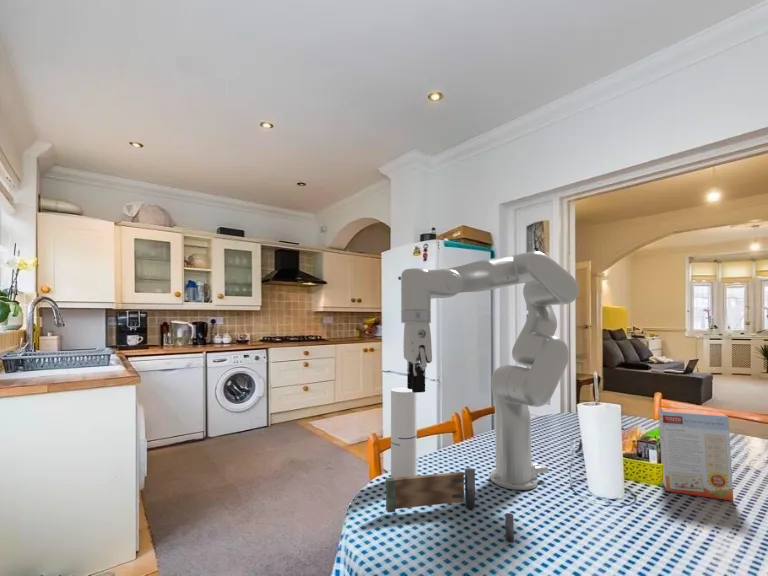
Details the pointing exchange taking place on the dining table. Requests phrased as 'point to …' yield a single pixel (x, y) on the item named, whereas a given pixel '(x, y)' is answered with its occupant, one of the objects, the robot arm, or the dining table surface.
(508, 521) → the post
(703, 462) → the cracker box
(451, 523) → the dining table surface
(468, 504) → the hinge post
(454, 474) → the wooden plank on edge
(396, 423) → the cylindrical container
